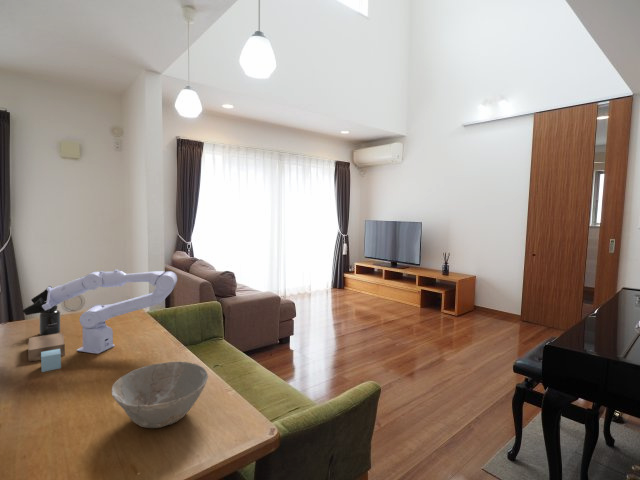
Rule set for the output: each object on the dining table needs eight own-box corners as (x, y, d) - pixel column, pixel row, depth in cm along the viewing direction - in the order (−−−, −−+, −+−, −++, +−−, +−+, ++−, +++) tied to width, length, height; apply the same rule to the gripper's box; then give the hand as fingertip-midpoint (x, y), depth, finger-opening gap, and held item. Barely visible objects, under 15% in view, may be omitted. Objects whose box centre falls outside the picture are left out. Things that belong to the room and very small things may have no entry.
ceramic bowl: (179, 386, 104) (179, 354, 103) (224, 416, 90) (225, 379, 89) (96, 418, 87) (96, 380, 86) (136, 462, 72) (135, 417, 72)
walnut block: (63, 342, 134) (62, 332, 133) (64, 354, 123) (64, 344, 122) (29, 348, 127) (29, 337, 127) (28, 361, 116) (27, 350, 116)
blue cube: (60, 362, 117) (60, 348, 116) (61, 368, 113) (60, 353, 113) (41, 366, 114) (41, 352, 113) (41, 372, 110) (41, 357, 109)
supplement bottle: (51, 336, 140) (51, 307, 139) (35, 335, 140) (34, 306, 139) (64, 330, 147) (64, 303, 146) (49, 329, 147) (48, 302, 146)
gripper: (67, 273, 130) (29, 288, 127) (55, 291, 117) (12, 308, 114) (78, 288, 133) (41, 303, 130) (67, 307, 120) (26, 324, 118)
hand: (29, 307), depth 123 cm, fingers open, 7 cm apart
